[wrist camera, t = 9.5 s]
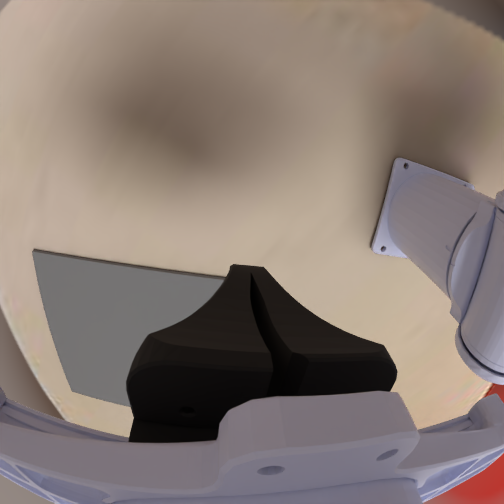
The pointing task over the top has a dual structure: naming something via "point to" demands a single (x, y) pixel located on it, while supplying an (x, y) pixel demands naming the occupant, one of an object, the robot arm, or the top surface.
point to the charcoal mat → (111, 315)
